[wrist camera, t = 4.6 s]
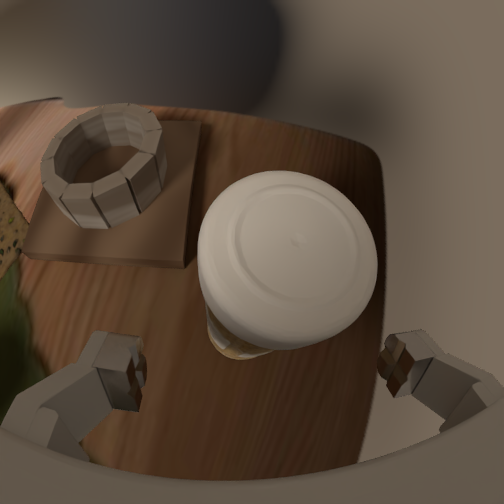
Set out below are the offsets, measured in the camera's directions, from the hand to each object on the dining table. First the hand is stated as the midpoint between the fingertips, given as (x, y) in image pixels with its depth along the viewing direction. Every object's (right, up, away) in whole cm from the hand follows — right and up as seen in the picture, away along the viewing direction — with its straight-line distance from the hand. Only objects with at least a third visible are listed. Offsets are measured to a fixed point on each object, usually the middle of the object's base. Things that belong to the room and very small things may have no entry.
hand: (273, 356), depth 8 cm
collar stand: (-13, +9, +13) cm, 20 cm away
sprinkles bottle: (-2, -2, +10) cm, 11 cm away
